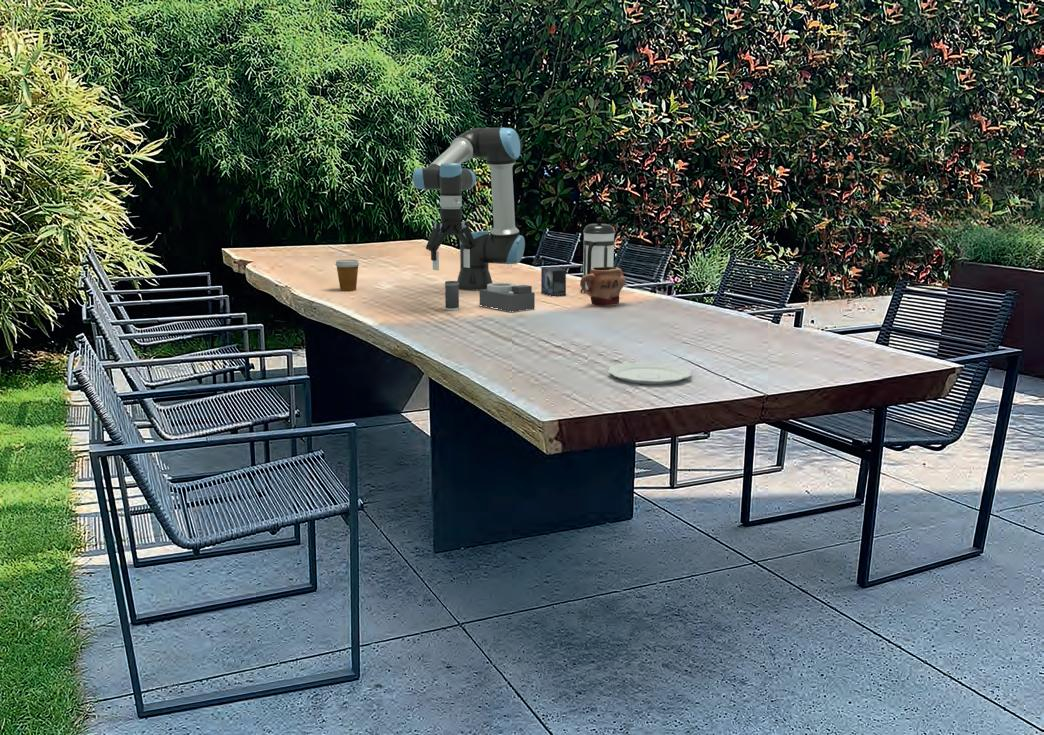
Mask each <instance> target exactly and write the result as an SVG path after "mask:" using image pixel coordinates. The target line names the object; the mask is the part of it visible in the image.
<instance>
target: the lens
mask: <svg viewBox="0 0 1044 735" xmlns="http://www.w3.org/2000/svg"><path fill="white" fill-rule="evenodd" d="M444 288H445V289H444V291H445V292H444V294H445V296H444V297H445V298H444V300H445V301H444V302H445V303H444V304H445V308H444V310H445V311H450V312H452V311H453V312H455V310H456V311H459V310H460V295H459V294H460V293H459V292H460V289H459V282H458V281H457V280H447V281H444Z"/></svg>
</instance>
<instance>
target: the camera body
mask: <svg viewBox="0 0 1044 735" xmlns="http://www.w3.org/2000/svg"><path fill="white" fill-rule="evenodd" d="M532 288H533V287H532V285H527V284H521V285H520V284H519V285H516V284H515V283H510V282H493V283H491V284H487V289H482V290H478V292H479V306H480V305H482V306H487V307H493V308H498V309H502V310H506V311H505V312H507V311H511V312H510V313H513V312H512V311H518V312H520V311H519V310H525V311H527V310H526V309H532V310H535V309H536V308H535V307H536V306H535V304H536V303H535V302H536V301H535V299H536V298H535V297H536V294H535V292H533V291H532V290H533V289H532ZM482 306H481V307H482ZM487 307H486V308H487ZM534 308H535V309H534ZM502 310H501V311H502Z"/></svg>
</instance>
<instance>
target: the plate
mask: <svg viewBox="0 0 1044 735" xmlns="http://www.w3.org/2000/svg"><path fill="white" fill-rule="evenodd" d="M607 373H608V374H609V375H612V376H614V377H615V378H618V379H620V380H622V381H625V382H629V383H634V384H635V383H636V384H640V385H641V384H642V385H665V384H673V383H677V382H679V381H681V380H684V379H688V378H690V377H691V376H692V371H691V369H689V368H685V367H684V366H681V365H675V364H670V363H667V362H666V363H665V362H650V361H648V362H647V361H635V362H624V363H619V364H616V365H615V364H614V365H612V366H610V367H609V369H608V370H607Z"/></svg>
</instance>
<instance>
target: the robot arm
mask: <svg viewBox="0 0 1044 735" xmlns="http://www.w3.org/2000/svg"><path fill="white" fill-rule="evenodd" d="M521 151H522V150H521V142H520V137H519V135H518V133H517V131H516V129H514V128H510V127H476V128H472V129H470V130H467V131H464V132H463V133H460V135H458V136H457V137H455V138H454V139H453V140H452V141H451V143H450V146H449V147H448V148H447V149H446V150H445V151H444V152H442V153H441V154H440V155H438V157H437V158H435V159H434V160H433V162H431V163H429V165H428V166H427V167H420V168H417V167H416V169H414V171H413V174H412V183H413V186H414V188H416V189H417V190H423V191H425V190H434V191H435V190H437V191H438V190H439V192H440V194H439V195H440V196H439V207H440V210H439V211H440V212H439V213H440V214H439V216H440V220H441V221H440V222H433V223H432V231H431V233H430V236H429V238H428V241H427V243H426V246H425V249H426V250H428V251H429V252H430V260H431V261H432V270H433V271H440V252H439V251H438V250H439V248H440V247H441V245H442V243H443V242H444V240H445V238H446V237H448V236H457V238H458V240H459V241H460V242H459V260H460V261H459V263H460V269H459V272H458V276H457V280H456V281H458V282H459V290H465V291H466V290H467V291H479V290H482V289H487V284H491V283H494V282H493V280H492V277H491V276H492V275H491V273H490V269H489V268H490V267H489V265H490V264H499V265H517V264H519V263H520V262H521V261H522V258H523V256H524V252H525V248H526V241H525V237H524V236H523V235H520V230H519V229H518V228H517V227H516V220H515V219H516V216H515V214H516V213H515V199H514V198H515V196H514V195H515V194H514V181H513V178H514V177H513V176H514V175H513V174H514V173H513V166H514V165H515V164H516V161H517V159H519V157H520V155H521ZM471 159H485V160H486V161H485V162H486V163H485V164H486V165H487V166H488V167H489V169H490V181H491V182H490V183H491V200H492V217H493V228H492V229H491V230H490V231H488V230H479V231H473V232H472V231H471V229H470V225H469V221H466V220H463V221H462V219H463V213H462V212H463V210H462V209H461V208H462V206H463V203H462V201H463V199H462V198H463V197H462V196H463V195H462V192H463V191H467V190H471V189H473V187H474V186H475V185H476V183H477V176H476V174H475V172H474V171H473V170H471V169H470V168H465V167H464V168H462V164H463V163H464V162H465V163H466V162H468V161H470V160H471ZM489 233H490V234H489Z"/></svg>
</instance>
